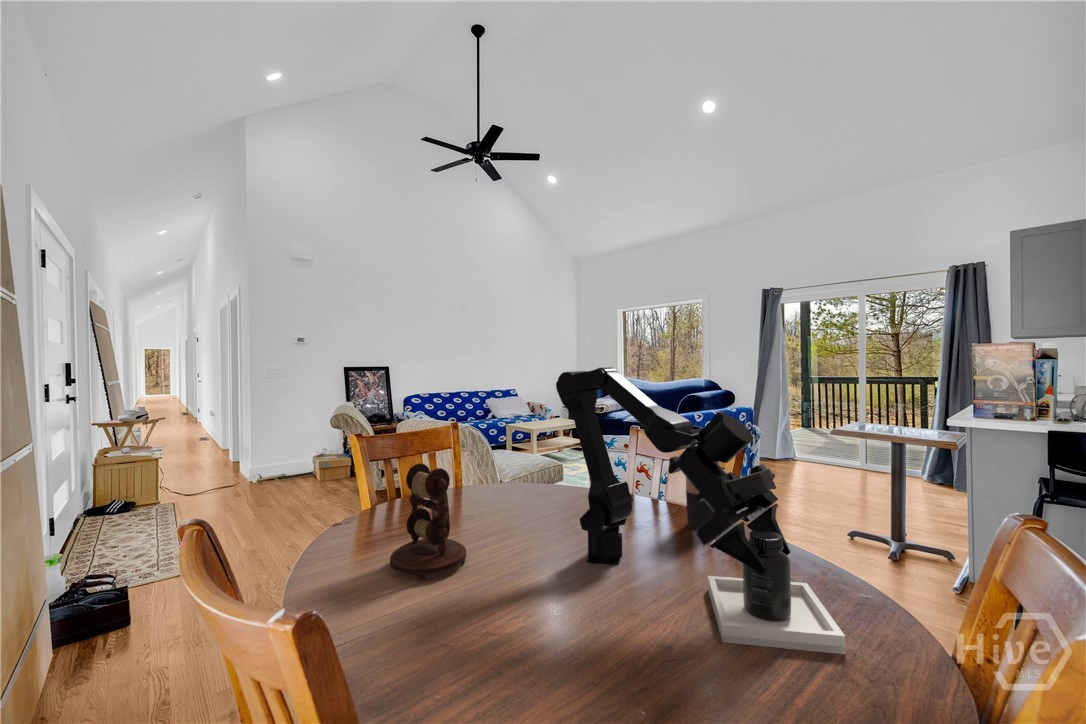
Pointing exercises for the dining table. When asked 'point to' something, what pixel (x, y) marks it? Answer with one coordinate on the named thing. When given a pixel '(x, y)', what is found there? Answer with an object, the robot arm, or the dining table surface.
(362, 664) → the dining table surface
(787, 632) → the tray
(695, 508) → the travel mug
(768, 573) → the supplement bottle
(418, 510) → the thread spool stand
